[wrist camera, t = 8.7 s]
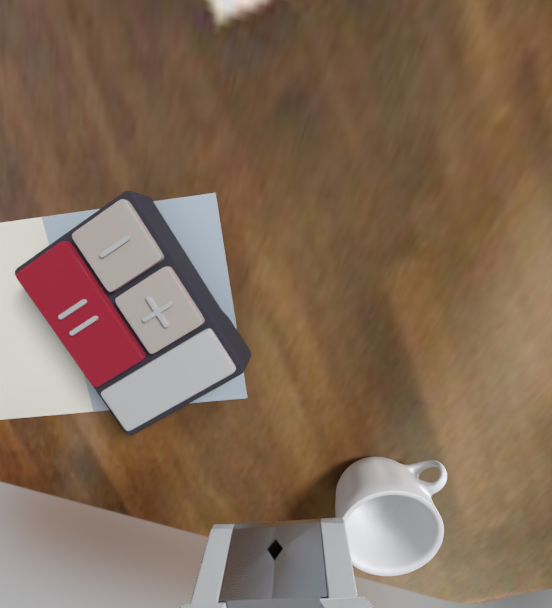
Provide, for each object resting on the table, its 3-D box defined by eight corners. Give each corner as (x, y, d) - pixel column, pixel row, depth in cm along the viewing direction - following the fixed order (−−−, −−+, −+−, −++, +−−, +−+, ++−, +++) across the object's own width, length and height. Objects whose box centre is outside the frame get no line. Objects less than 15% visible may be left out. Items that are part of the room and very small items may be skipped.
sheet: (-115, 239, 27) (-118, 239, 26) (216, 193, 24) (215, 192, 24) (-47, 422, 30) (-49, 424, 30) (247, 397, 28) (247, 398, 28)
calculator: (122, 185, 21) (244, 376, 22) (153, 195, 25) (253, 355, 27) (1, 272, 23) (122, 444, 24) (48, 268, 27) (149, 414, 28)
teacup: (367, 530, 30) (383, 593, 25) (311, 478, 29) (315, 531, 24) (454, 468, 28) (491, 522, 23) (397, 410, 27) (422, 452, 22)
